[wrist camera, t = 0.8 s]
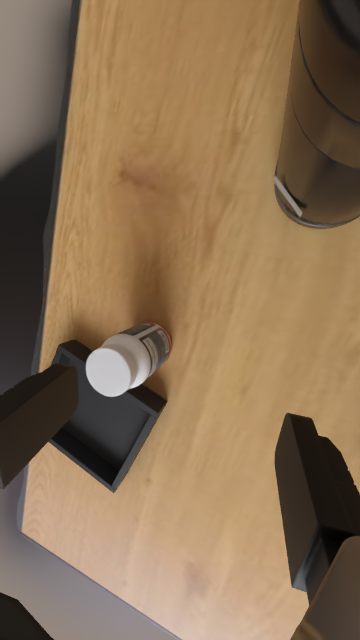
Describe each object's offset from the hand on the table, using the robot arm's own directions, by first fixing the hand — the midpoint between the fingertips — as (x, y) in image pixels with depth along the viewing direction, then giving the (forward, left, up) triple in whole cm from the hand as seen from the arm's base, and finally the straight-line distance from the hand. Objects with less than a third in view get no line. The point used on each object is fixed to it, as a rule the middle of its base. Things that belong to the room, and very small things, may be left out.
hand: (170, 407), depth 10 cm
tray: (+21, -10, -20) cm, 31 cm away
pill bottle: (+8, -7, -20) cm, 23 cm away
